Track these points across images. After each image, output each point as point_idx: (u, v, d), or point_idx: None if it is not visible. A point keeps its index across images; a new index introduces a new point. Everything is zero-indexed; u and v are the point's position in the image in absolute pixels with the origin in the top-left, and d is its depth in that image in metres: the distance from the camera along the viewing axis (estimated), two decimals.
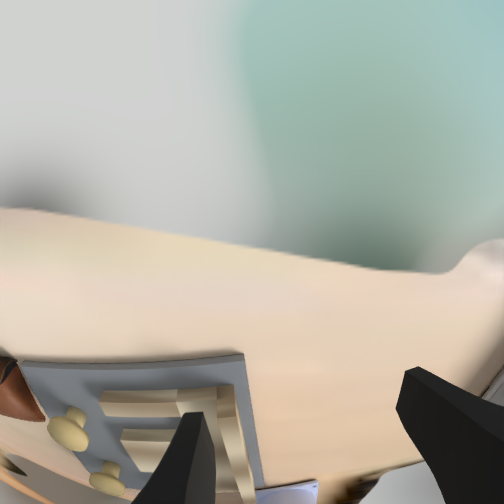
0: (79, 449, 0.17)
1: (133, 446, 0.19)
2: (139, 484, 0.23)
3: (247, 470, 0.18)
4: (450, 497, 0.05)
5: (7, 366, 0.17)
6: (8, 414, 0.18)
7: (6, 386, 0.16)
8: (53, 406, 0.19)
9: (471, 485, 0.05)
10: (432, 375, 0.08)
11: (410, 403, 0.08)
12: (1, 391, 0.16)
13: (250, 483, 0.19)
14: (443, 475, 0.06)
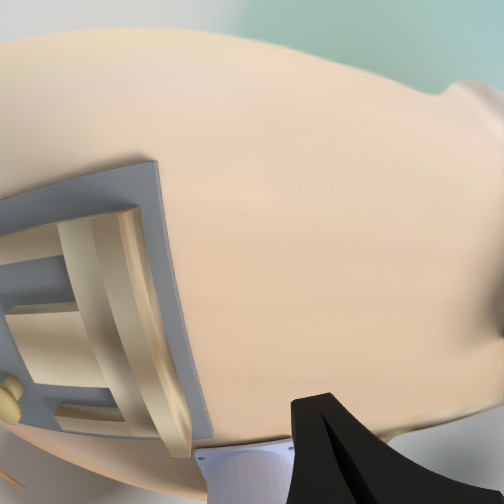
0: None
1: (18, 326, 0.13)
2: (50, 420, 0.17)
3: (153, 368, 0.12)
4: None
5: None
6: None
7: None
8: None
9: None
10: (338, 406, 0.08)
11: None
12: None
13: (166, 405, 0.13)
14: None
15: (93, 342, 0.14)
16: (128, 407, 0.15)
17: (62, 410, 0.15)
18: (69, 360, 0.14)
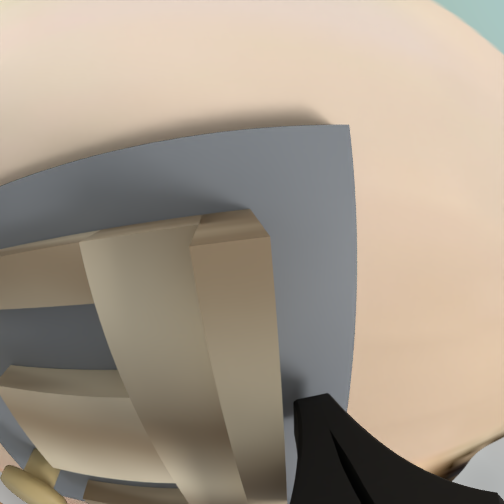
0: None
1: (18, 404, 0.07)
2: None
3: (283, 482, 0.06)
4: None
5: None
6: None
7: None
8: None
9: None
10: (336, 406, 0.08)
11: None
12: None
13: None
14: None
15: (155, 438, 0.08)
16: (202, 499, 0.09)
17: (93, 491, 0.10)
18: (110, 454, 0.08)
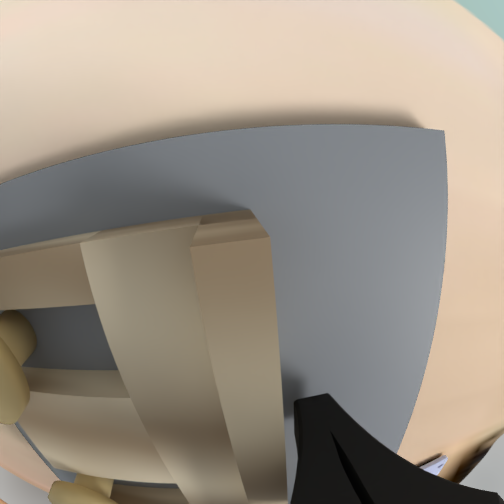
0: (6, 418, 0.05)
1: None
2: None
3: (283, 482, 0.06)
4: None
5: None
6: None
7: None
8: None
9: None
10: (336, 406, 0.08)
11: None
12: None
13: None
14: None
15: (156, 438, 0.08)
16: (202, 499, 0.09)
17: None
18: (111, 454, 0.08)
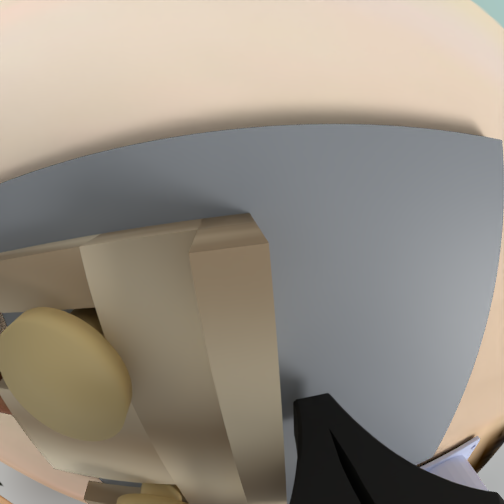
0: (95, 434, 0.06)
1: (19, 406, 0.07)
2: None
3: (282, 483, 0.06)
4: None
5: None
6: None
7: None
8: None
9: None
10: (336, 406, 0.08)
11: None
12: None
13: None
14: None
15: (156, 439, 0.08)
16: (202, 500, 0.09)
17: (94, 492, 0.10)
18: (111, 455, 0.08)
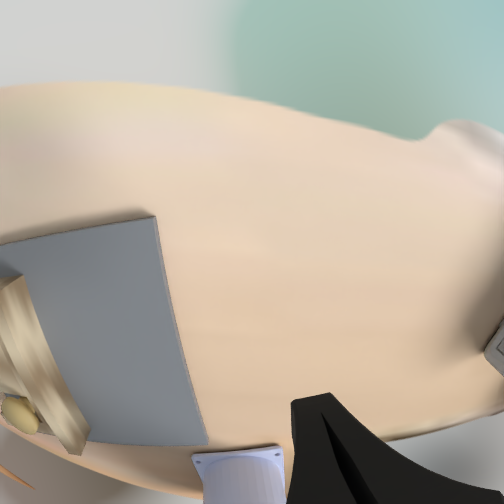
0: None
1: None
2: None
3: (37, 389, 0.14)
4: None
5: None
6: None
7: None
8: None
9: None
10: (338, 406, 0.08)
11: None
12: None
13: (51, 414, 0.15)
14: None
15: (11, 365, 0.15)
16: (41, 412, 0.17)
17: None
18: (1, 374, 0.15)
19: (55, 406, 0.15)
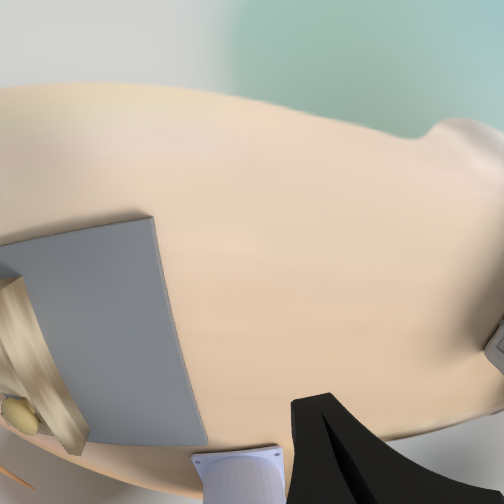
0: None
1: None
2: None
3: (36, 390, 0.14)
4: None
5: None
6: None
7: None
8: None
9: None
10: (338, 406, 0.08)
11: None
12: None
13: (51, 415, 0.15)
14: None
15: (10, 366, 0.15)
16: None
17: None
18: (0, 375, 0.15)
19: (54, 407, 0.15)
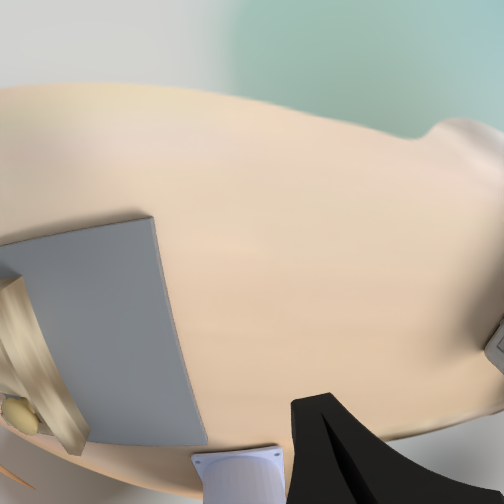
0: None
1: None
2: None
3: (36, 390, 0.14)
4: None
5: None
6: None
7: None
8: None
9: None
10: (338, 406, 0.08)
11: None
12: None
13: (51, 415, 0.15)
14: None
15: (10, 366, 0.15)
16: None
17: None
18: (0, 375, 0.15)
19: (54, 407, 0.15)
